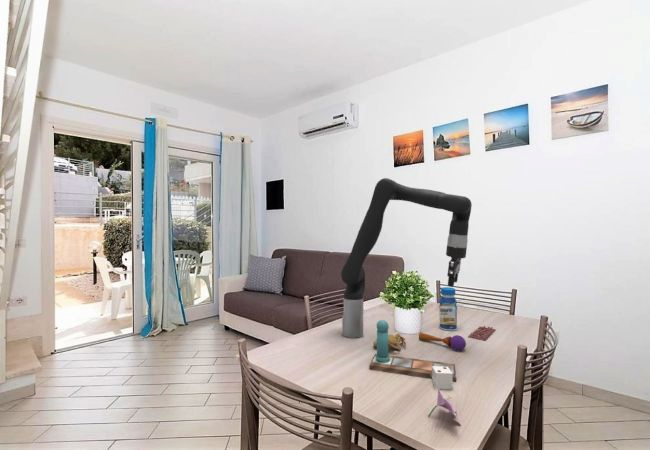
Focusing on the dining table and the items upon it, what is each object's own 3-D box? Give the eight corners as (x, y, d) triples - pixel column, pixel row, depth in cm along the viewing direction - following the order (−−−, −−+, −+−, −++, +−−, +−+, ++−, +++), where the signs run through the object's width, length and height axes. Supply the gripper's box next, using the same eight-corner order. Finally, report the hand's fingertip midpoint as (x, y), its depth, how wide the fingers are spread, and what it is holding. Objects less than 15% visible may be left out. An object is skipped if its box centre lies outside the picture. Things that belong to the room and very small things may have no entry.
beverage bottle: (460, 329, 158) (460, 288, 158) (450, 332, 153) (450, 290, 154) (446, 324, 165) (445, 286, 165) (435, 327, 160) (435, 287, 161)
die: (436, 389, 100) (436, 372, 100) (432, 381, 105) (432, 365, 105) (452, 389, 99) (452, 373, 99) (447, 382, 104) (447, 366, 104)
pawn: (374, 361, 116) (374, 321, 116) (376, 356, 121) (376, 317, 121) (388, 363, 114) (388, 322, 114) (390, 358, 119) (390, 319, 119)
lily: (452, 443, 76) (470, 406, 77) (408, 408, 83) (425, 375, 83) (457, 431, 86) (474, 399, 87) (418, 401, 93) (433, 372, 93)
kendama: (424, 329, 147) (468, 336, 132) (423, 342, 145) (468, 351, 131) (417, 329, 143) (462, 336, 128) (416, 343, 141) (462, 352, 127)
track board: (369, 369, 114) (369, 364, 114) (375, 357, 124) (375, 352, 124) (456, 382, 104) (456, 377, 104) (454, 368, 114) (454, 363, 114)
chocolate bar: (495, 331, 156) (495, 327, 156) (485, 342, 142) (485, 337, 142) (480, 328, 161) (480, 324, 161) (468, 338, 146) (468, 334, 146)
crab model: (381, 339, 145) (381, 327, 145) (409, 345, 138) (409, 332, 138) (366, 350, 132) (366, 337, 132) (396, 357, 125) (396, 342, 125)
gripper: (450, 242, 138) (446, 278, 140) (443, 245, 126) (439, 285, 128) (469, 244, 134) (464, 282, 136) (464, 248, 122) (459, 289, 124)
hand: (452, 284), depth 132 cm, fingers open, 8 cm apart
